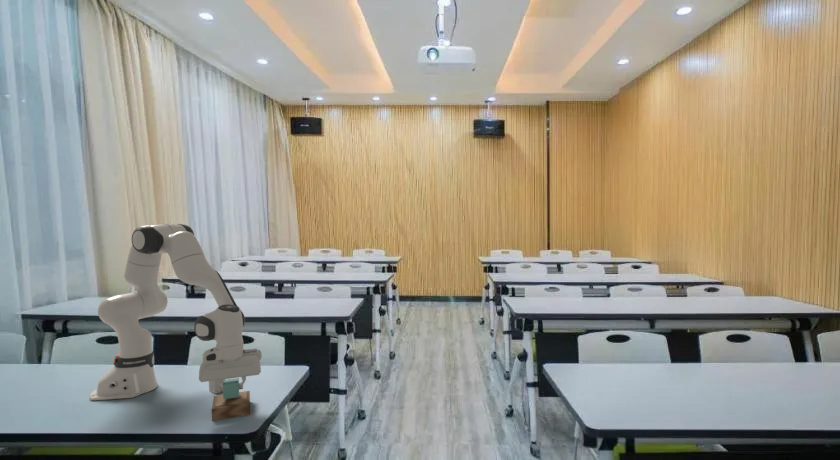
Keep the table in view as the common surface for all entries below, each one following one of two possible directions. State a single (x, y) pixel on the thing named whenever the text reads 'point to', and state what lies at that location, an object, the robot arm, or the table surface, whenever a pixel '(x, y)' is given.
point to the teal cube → (231, 388)
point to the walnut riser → (231, 406)
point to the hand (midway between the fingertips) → (231, 390)
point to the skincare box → (215, 386)
